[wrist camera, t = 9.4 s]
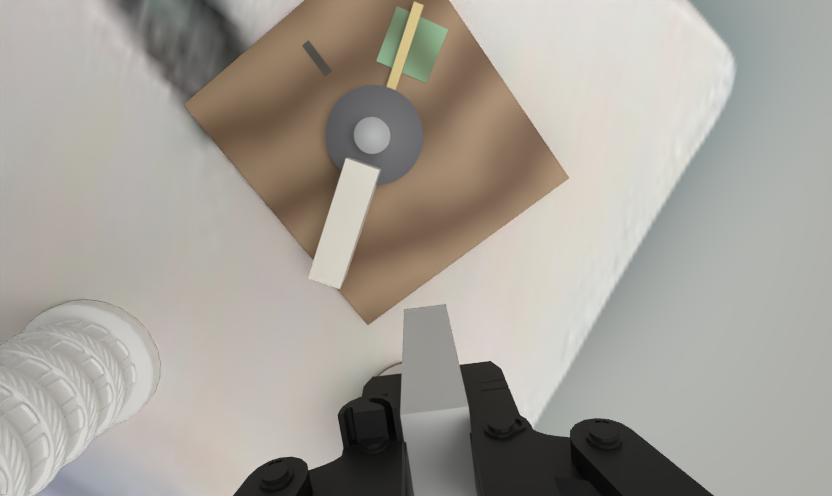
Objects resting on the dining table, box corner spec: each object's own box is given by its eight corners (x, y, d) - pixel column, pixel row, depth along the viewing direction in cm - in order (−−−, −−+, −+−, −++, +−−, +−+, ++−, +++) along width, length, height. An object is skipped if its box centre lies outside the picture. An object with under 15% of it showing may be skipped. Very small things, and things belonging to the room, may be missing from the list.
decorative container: (58, 274, 39) (-233, 381, 21) (182, 341, 40) (6, 492, 23) (8, 381, 41) (-295, 558, 23) (128, 440, 42) (-72, 649, 25)
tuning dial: (371, -13, 32) (366, -34, 28) (464, 24, 33) (471, 8, 29) (289, 256, 36) (275, 269, 32) (373, 284, 37) (369, 300, 33)
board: (195, 107, 36) (182, 104, 34) (396, -65, 34) (395, -79, 31) (369, 316, 40) (367, 325, 38) (560, 176, 37) (569, 178, 35)
